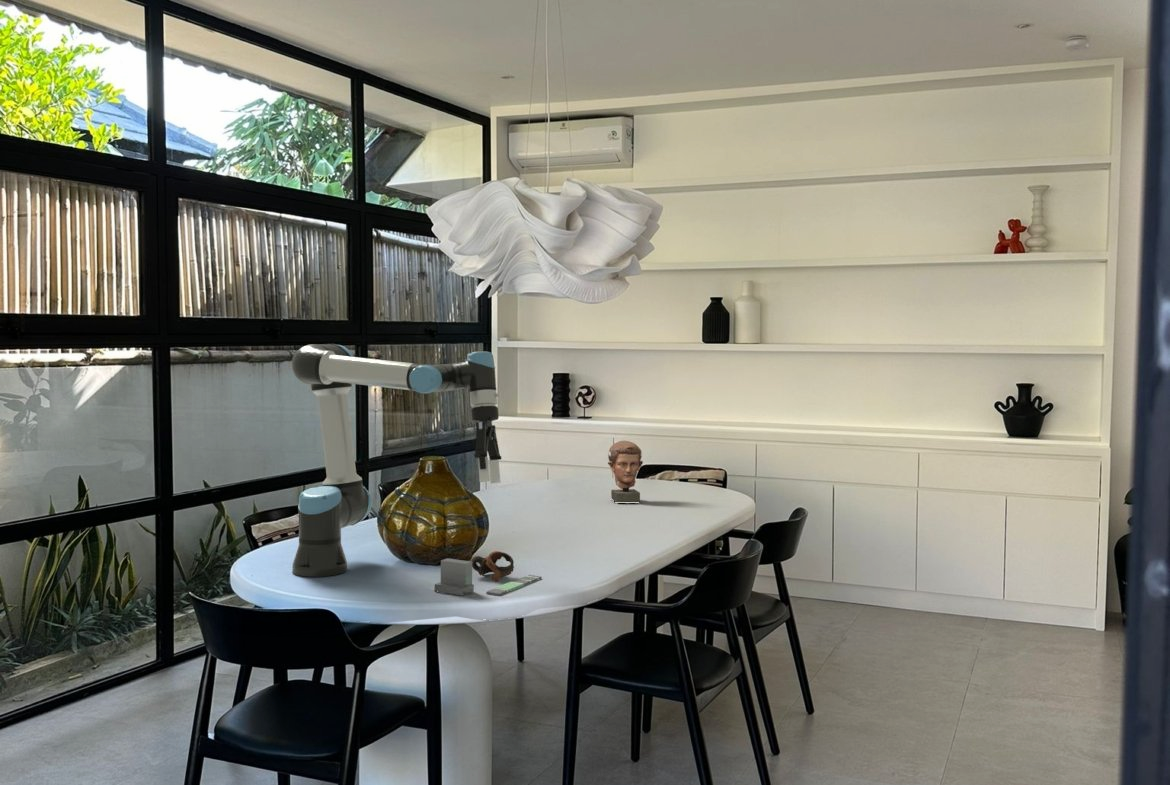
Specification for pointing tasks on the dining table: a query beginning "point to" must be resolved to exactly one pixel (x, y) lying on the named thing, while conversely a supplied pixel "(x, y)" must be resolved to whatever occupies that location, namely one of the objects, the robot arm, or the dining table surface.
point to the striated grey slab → (455, 577)
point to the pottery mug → (493, 565)
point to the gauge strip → (513, 585)
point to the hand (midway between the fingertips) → (490, 482)
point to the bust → (625, 470)
